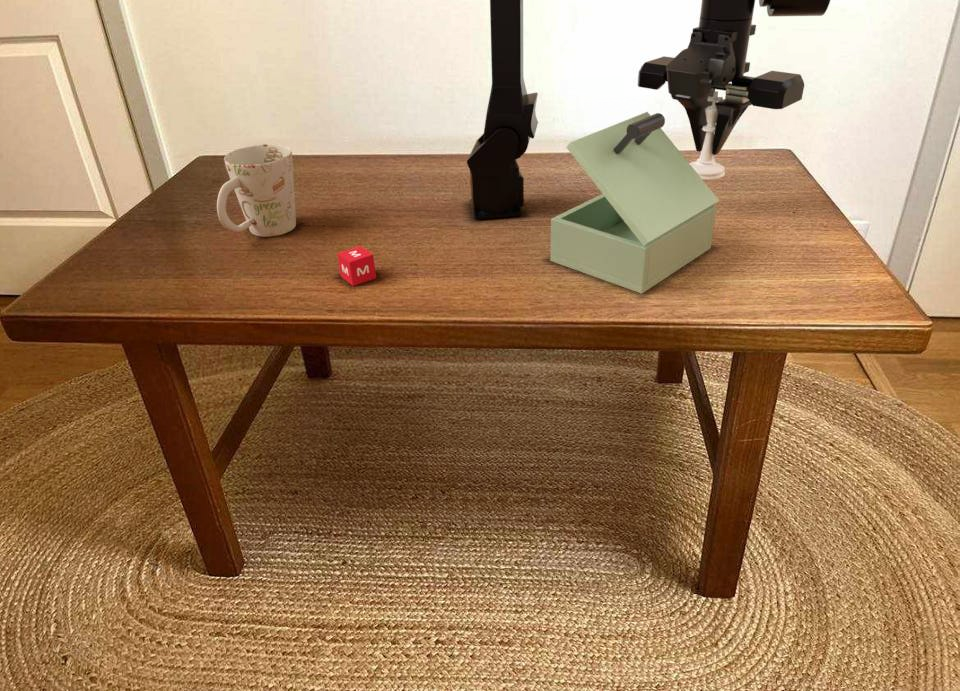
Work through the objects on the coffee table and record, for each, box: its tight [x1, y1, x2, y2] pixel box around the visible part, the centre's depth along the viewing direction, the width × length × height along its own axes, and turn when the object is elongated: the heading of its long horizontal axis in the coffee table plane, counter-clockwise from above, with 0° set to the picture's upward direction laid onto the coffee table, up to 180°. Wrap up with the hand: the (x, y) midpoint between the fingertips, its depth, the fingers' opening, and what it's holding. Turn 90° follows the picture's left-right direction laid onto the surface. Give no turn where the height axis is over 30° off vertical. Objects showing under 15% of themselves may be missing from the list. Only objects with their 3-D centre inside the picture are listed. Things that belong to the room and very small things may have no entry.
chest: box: [549, 193, 717, 295], centre depth 84 cm, size 13×15×5 cm
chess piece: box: [689, 90, 726, 180], centre depth 89 cm, size 5×5×10 cm
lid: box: [565, 111, 720, 246], centre depth 78 cm, size 13×15×5 cm
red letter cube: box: [337, 245, 377, 287], centre depth 83 cm, size 3×3×3 cm
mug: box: [216, 143, 297, 238], centre depth 92 cm, size 8×13×10 cm, turn 155°
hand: (707, 152), depth 91 cm, fingers closed on chess piece
